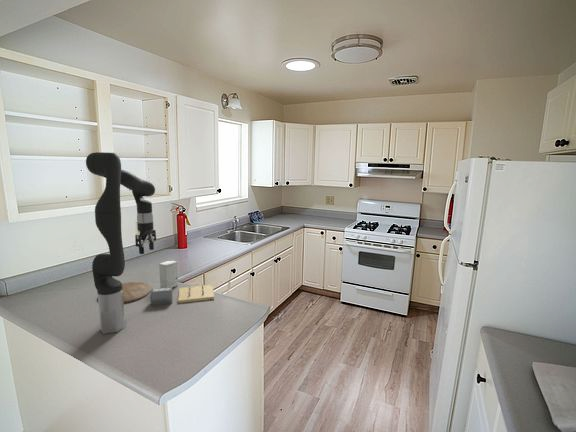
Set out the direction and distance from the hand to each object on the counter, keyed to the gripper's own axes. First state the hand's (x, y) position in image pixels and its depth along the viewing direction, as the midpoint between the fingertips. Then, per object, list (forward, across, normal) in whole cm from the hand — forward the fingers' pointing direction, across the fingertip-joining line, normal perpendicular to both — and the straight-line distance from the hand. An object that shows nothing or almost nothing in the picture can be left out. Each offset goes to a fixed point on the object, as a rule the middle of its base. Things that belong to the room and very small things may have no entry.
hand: (146, 251), depth 157 cm
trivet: (+26, +2, +15) cm, 30 cm away
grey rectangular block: (+26, -4, -10) cm, 28 cm away
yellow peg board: (+25, +7, -23) cm, 35 cm away
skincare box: (+25, +15, -3) cm, 29 cm away
